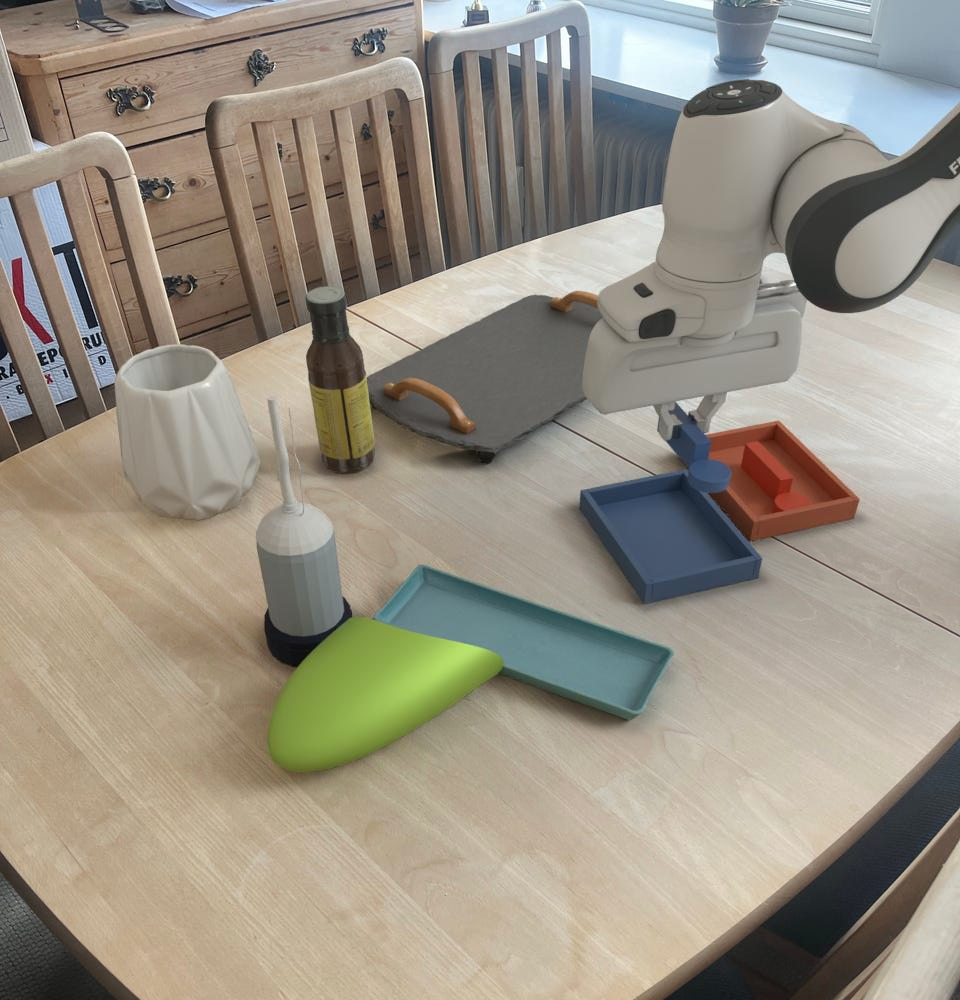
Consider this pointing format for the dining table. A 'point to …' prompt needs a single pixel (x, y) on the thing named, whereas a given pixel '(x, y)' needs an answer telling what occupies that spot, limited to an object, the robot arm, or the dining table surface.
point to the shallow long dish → (532, 640)
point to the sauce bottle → (338, 385)
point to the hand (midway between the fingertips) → (682, 433)
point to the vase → (183, 433)
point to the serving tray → (493, 375)
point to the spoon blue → (698, 456)
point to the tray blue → (668, 536)
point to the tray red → (809, 480)
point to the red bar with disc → (771, 478)
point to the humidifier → (297, 567)
